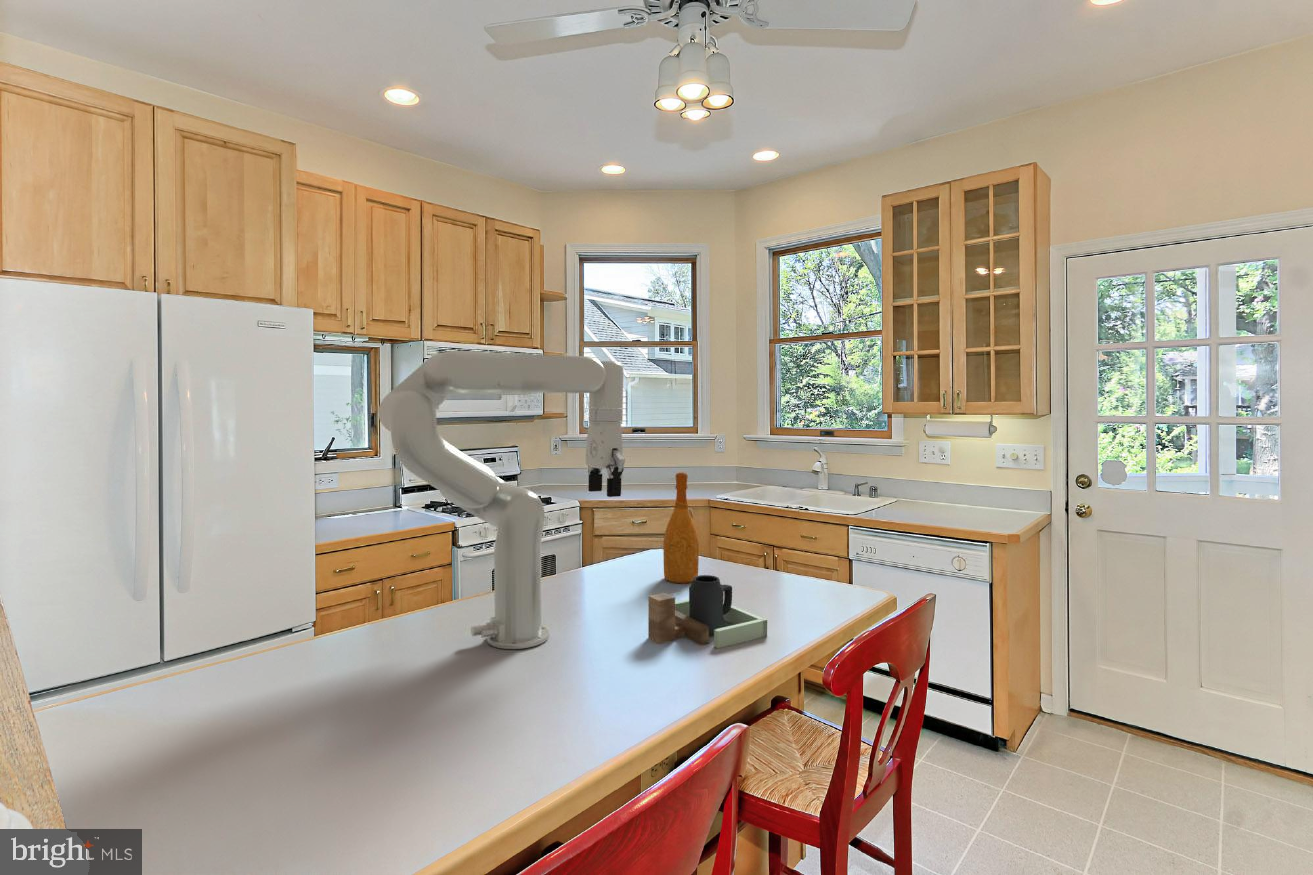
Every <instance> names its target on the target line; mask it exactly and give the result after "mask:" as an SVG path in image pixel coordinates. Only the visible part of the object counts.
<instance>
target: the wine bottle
mask: <svg viewBox="0 0 1313 875" xmlns="http://www.w3.org/2000/svg"><path fill="white" fill-rule="evenodd" d="M688 478H689V477H688V473H686V472H684V471H683V472H677V473H676V474H675V489H676V497H675V499H676V500H675V503H674V507H673V508H674V509H673V510H672V511H673V512H672V513H671V516H670V518H669V520H668V523H667V525H666V528H665V531H664V537H663V549H662V551H663V552H662V553H663V576H664V579H665V580H666V581H668V582H671V583H676V584H687V583H692V582H693V578H694V577H696V576H699V561H700V560H699V558H700V557H699V555H700V554H699V552H700V545H699V544H700V542H699V534H698V530H697V527H696V525H695V522H694V519H695V516H694V512H693V508H691V507H690V508H689V504H688V500H687V499H688V498H687V490H688Z"/></svg>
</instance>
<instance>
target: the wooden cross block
mask: <svg viewBox="0 0 1313 875" xmlns="http://www.w3.org/2000/svg"><path fill="white" fill-rule="evenodd" d="M675 602H676V597H675V596H673V595H670V594H668V593H666V592H662V593H657V594H651V595H648V621H647V622H648V626H647V627H648V628H647V629H648V639H650V640H651V641H653V642H654V643H656V644H658V645H660V644H665V643H668V642H675V641H676V639H679V638H687V639H689V640H690V641H692V642H694V643H696V644H698V645H700V646H703V645H707V644H709V643H710V641H709V640H710V639H709V638H710V637H709V626H707V625H705V624H703V623H701V622H699V621H696V620H694V619H692V618H690V617H689V616H686V615H684V614H682V613H680V612H678V611H676V610H675Z"/></svg>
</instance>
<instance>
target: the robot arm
mask: <svg viewBox="0 0 1313 875" xmlns="http://www.w3.org/2000/svg"><path fill="white" fill-rule="evenodd" d="M544 393H545V394H546V393H548V394H549V393H551V394H552V393H556V394H557V393H558V394H559V393H561V394H562V393H565V394H588V428H587V437H586V444H585V445H586V448H585V464H586V466H587V467H588V468H587V473H588V489H587V490H588V492H602V490H603V473H602V470H604V469H605V470H606V473H607V475H608V477H607V478H606V496H607V497H608V498H612V497H613V498H614V497H621V495H622V478H623V472H624V470H625V469H624V466H625V462H626V460H625V458H624V456H623V435H622V434H623V433H622V432H623V431H622V424H623V419H624V418H623V417H624V416H623V415H624V414H623V412H624V411H623V410H624V366H623V364H622V363H621V362H618V361H613V360H610V361H609V360H598V359H597V358H595V357H592V356H583V355H582V356H581V355H557V354H556V355H550V354H533V353H532V354H531V353H520V352H519V353H516V352H495V351H494V352H493V351H491V352H490V351H469V350H468V351H467V350H449V351H448V350H447V351H443V352H438V353H435V354H434V355H432V356H430V357H429V358H427V359H426V360H425V361H424V362H423V363H422V364H421V365H419V367H417V368H416V369H415V370H414V371H413V372H412V373H411V374H409V375H408V376H407V377H406V378H405V379H404V380H403V381H401V382H400V383H399V384H398V385H397V386H396V387H394V388H393V389H392V390H391V391H389V393H388V394H386V395H385V397H383V398H382V401H381V402H380V403H379V407H378V411H377V412H378V418H379V421H380V423H381V425H382V426H383V427H384V428H385V429H386V430H387V431H389V432H390V436H391V443H392V447H393V449H394V454H395V456H397V459H398V460H399V462H400V463H401V465H402V466H403V467H404V468H405V469H406V470H408V471H409V472H410V473H412V475H415V476H416V477H418V478H419V479H420V480H422V481H424V482H425V483H427V484H428V485H430V486H431V487H433V488H435V489H436V490H439V494H441V496H443V498H444V499H446V500H447V501H448V502H450V503H451V504H454V505H455V506H457V507H458V508H461V509H462V510H463V511H466V512H468V513H469V514H471V515H473V516H474V517H476V518H478V519H480V520H482V521H483V522H484V523H487V524H488V525H491V526H493V527H495V528H497V529H496V531H497V532H496V536H495V543H494V549H493V550H494V552H493V566H494V567H493V570H494V571H493V572H494V573H493V576H494V577H493V578H494V579H493V580H494V582H493V583H494V584H493V586H494V616H491V617H490V618H489V620H490V621H488V622H485V624H482V625H480V624H479V625H474V626H471V627H470V633H471V636H472V637H476V636H480V637H481V638H486V641H487V642H486V643H488V644H489V645H490V646H491V647H494V648H498V649H504V650H521V649H522V650H523V649H527V648H533V647H536V646H539V645H542V644H543V643H545V642H546V641H548V639H549V637H550V632H549V631H550V630H549V629H548V628H547V627H545V626H543V625H542V538H543V530H544V526H545V515H546V513H545V508H544V504H543V502H542V501H541V498H540V497H539V496H538V495H537V493H535V492H534V491H532V490H530V489H527V488H525V487H521V486H519V485H518V486H517V485H512V484H510V483H508V482H506V481H505V480H503V479H502V478H500V477H498V476H497V475H496V473H495V472H494V471H493V470H492V469H491V468H490V467H489V466H488V465H486V464H484V463H483V462H481V461H478V460H476V459H474V457H471V456H470V455H468V454H466V453H465V452H463V451H461V450H459V449H458V448H456V447H455V446H454V445H452V444H451V443H450V442H448V441H447V440H445V439H444V438H443V437H442V436H441V434H440V432H439V430H438V427H437V425H438V424H437V409H438V408H439V407H440V406H441V405H442V404H443V403H444V402H445V401H447V399H448V398H449V397H450V396H451V395H452V396H453V395H454V396H455V395H456V396H465V395H466V396H468V395H469V396H479V395H480V396H527V395H535V394H544Z"/></svg>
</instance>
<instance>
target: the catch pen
mask: <svg viewBox="0 0 1313 875" xmlns="http://www.w3.org/2000/svg"><path fill="white" fill-rule="evenodd" d="M723 604H724V601H723ZM675 610H676V611H678V612H680V613H682V614H684V615H686V616H688V617H689V615H690V605H689V599H685V600H680V601H675ZM723 618H724V620H725V622H728V623H730V624H732V625H728V626H726V627H723V628H719V629H715V630H714V636H713V647H714V648H716V649H721V648H724V647H730V646H733V645H737V644H741V643H745V642H746V643H747V642H750V641H752V640H758V639H761V638H765V637H767V636H768V619H766V618H764V617H762V616H759V615H757V614H753V613H752V612H749V611H746V610H745V609H742V608H740V607H738V606H735V605H731V608H730V611H729V612H728V613H726V614H724V615H723Z"/></svg>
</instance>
